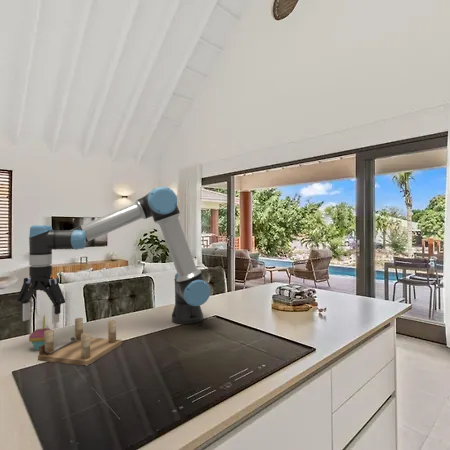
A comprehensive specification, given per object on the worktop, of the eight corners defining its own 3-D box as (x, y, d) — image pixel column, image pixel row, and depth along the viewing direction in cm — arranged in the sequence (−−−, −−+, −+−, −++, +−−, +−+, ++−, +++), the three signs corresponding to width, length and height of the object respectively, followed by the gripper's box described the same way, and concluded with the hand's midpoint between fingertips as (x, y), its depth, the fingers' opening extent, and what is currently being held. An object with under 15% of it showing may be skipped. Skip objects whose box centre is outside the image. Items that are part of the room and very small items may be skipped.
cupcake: (36, 344, 127) (35, 313, 127) (58, 343, 128) (58, 312, 128) (24, 352, 119) (24, 320, 119) (48, 351, 120) (48, 319, 120)
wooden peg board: (121, 344, 126) (121, 319, 126) (87, 365, 107) (86, 337, 107) (78, 340, 131) (77, 316, 131) (37, 360, 112) (37, 332, 112)
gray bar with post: (77, 340, 125) (77, 320, 125) (49, 354, 112) (49, 332, 112) (71, 339, 126) (71, 320, 126) (42, 353, 113) (42, 331, 113)
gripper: (75, 265, 124) (75, 320, 124) (23, 263, 130) (23, 316, 130) (60, 267, 117) (60, 326, 117) (6, 265, 123) (6, 321, 123)
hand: (40, 321), depth 123 cm, fingers open, 13 cm apart
